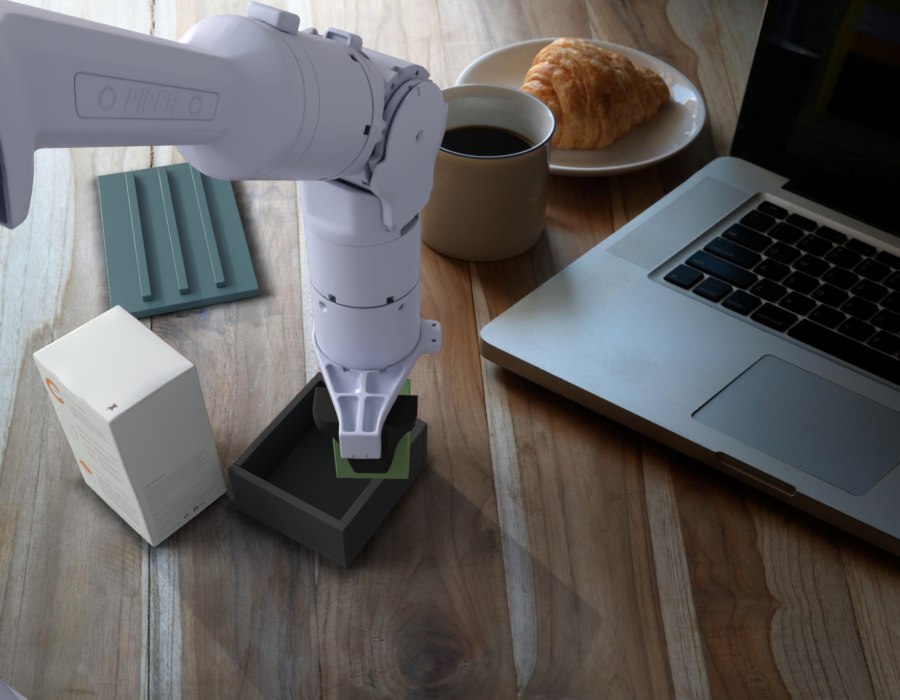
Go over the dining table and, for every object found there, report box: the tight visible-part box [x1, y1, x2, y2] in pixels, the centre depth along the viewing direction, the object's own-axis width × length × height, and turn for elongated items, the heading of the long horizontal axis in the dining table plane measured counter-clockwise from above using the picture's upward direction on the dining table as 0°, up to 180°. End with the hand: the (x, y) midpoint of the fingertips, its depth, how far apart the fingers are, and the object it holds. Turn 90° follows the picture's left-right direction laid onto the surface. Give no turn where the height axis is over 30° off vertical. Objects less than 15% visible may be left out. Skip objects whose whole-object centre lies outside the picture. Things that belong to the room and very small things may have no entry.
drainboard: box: [96, 161, 261, 319], centre depth 83 cm, size 20×12×1 cm, turn 18°
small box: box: [32, 305, 228, 548], centre depth 60 cm, size 8×6×13 cm
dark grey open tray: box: [226, 371, 429, 570], centre depth 64 cm, size 10×9×4 cm
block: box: [333, 378, 412, 479], centre depth 57 cm, size 4×4×4 cm
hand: (373, 436), depth 58 cm, fingers closed on block, 4 cm apart
